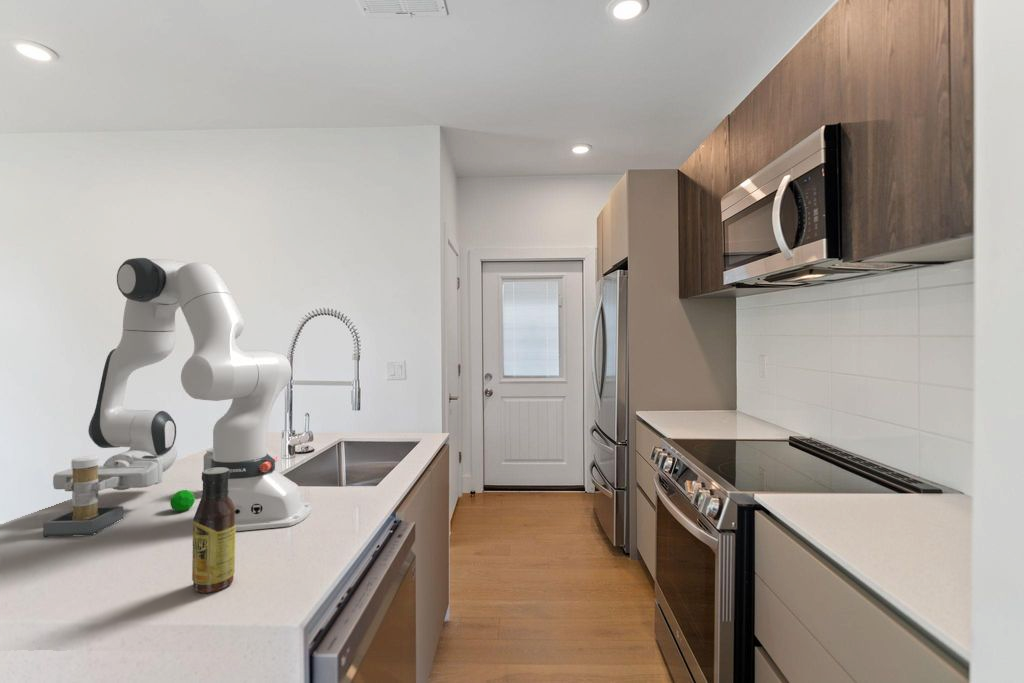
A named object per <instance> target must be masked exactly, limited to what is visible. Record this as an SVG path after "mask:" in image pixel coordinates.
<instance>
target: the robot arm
mask: <svg viewBox="0 0 1024 683" xmlns="http://www.w3.org/2000/svg"><path fill="white" fill-rule="evenodd" d="M222 278H223V277H221V275H220V274H219V273H218V272H217V271H216V269H215V268H214V267H212V266H211V265H210V264H207V263H204V262H197V261H196V262H189V263H188V262H185V261H184V262H183V261H177V260H174V259H161V258H160V259H158V258H155V259H154V258H146V257H136V258H135V257H134V258H128V259H126V260H124V261H123V263H121V265H120V266H119V268H118V270H117V273H116V285H117V288H118V290H119V292H120V293H121V294H122V296H123V297H124V298H125V299H126V301H125V307H124V312H123V318H122V319H123V320H122V334H121V338H120V340H119V344H118V345H117V346H116V348H113V349H112V350H111V351H109V353H108V354H107V357H106V359H105V364H104V365H103V366H104V367H103V371H102V376H101V380H100V384H99V385H100V386H99V389H98V390H99V391H98V396H97V401H96V405H95V409H94V413H93V415H92V417H91V419H90V421H89V422H90V423H89V425H88V430H87V431H88V432H87V433H88V435H89V438H90V439H91V441H92V442H93V443H94V444H95V445H96V446H97V447H98V448H100V449H112V448H116V449H117V448H129V449H128V450H126V451H123V452H120V453H117V454H114V455H112V456H110V457H109V458H107V460H105V462H104V463H103V465H98V481H97V482H95V483H93V491H98V492H101V491H103V490H106V489H113V490H116V491H125V490H129V489H132V488H133V489H136V488H137V489H138V488H140V489H143V488H147V487H151V486H154V485H159V484H161V483H162V482H163V476H164V475H163V473H164V472H166V471H167V470H169V469H170V468H171V467H172V465H173V464H174V463H175V462H176V459H177V457H178V456H177V455H178V452H177V447H176V446H175V441H176V437H177V425H176V422H175V420H174V419H173V417H172V416H171V415H170V414H169V413H168V412H167V411H164V410H155V409H154V410H153V409H152V410H150V409H149V410H148V409H143V410H142V409H125V407H124V406H123V403H124V399H125V393H126V389H127V384H128V380H129V377H130V375H131V374H132V373H133V372H135V371H136V370H139V369H140V368H144V367H147V366H151V365H154V364H156V363H160V362H161V361H163V360H165V359H166V358H167V357H168V356H169V355H170V354H172V352H173V350H174V348H175V344H176V312H177V310H178V309H179V308H180V309H181V311H182V314H183V316H184V318H185V321H186V322H187V325H188V327H189V330H190V333H191V336H192V338H193V344H194V345H193V351H192V355H190V358H188V359H187V360H186V361H185V363H184V365H183V366H182V369H181V373H180V382H181V385H182V387H183V390H184V391H185V393H186V394H187V395H188V397H189V396H190V398H192V399H195V400H200V401H201V400H202V401H214V402H218V401H225V400H232V401H231V404H230V406H229V408H228V410H227V411H226V413H224V415H223V416H221V417H220V418H219V419H217V421H216V422H215V424H214V426H213V430H212V439H213V440H212V448H213V459H212V460H211V468H216V467H225V468H228V469H229V471H230V476H229V479H228V491H229V493H228V496H229V498H230V499H231V500H232V502H233V504H234V506H235V522H236V529H235V532H240V531H250V530H253V531H254V530H262V529H263V530H264V529H273V528H274V529H276V528H285V527H292V526H294V525H297V524H298V523H301V522H302V521H303V520H305V519H306V518H307V517H308V516H309V515H310V514H311V512H312V505H311V503H310V502H304V501H303V500H302V493H301V490H300V487H299V485H298V484H297V483H296V482H294V481H292V480H291V479H290V478H288V477H286V476H284V475H283V474H282V473H280V472H279V471H277V470H276V463H277V462H278V460H277V459H278V456H274V458H273V457H272V456H271V455H269V454H268V453H267V452H268V451H267V450H268V449H267V448H268V429H269V428H268V427H269V426H268V425H269V419H270V416H271V412H272V410H273V407H274V404H275V403H276V400H277V398H278V396H279V395H280V393H281V392H282V391H283V390H284V389H285V388H286V387H287V386H288V385H289V383H290V381H291V379H292V373H293V372H292V366H291V363H290V361H289V359H288V358H287V357H286V356H285V355H283V354H281V353H277V352H275V351H270V350H266V349H265V350H264V349H263V350H259V349H258V350H241V349H240V348H239V346H238V345H237V341H236V340H237V339H238V338H239V337H240V336H241V335H242V333H243V331H244V328H245V320H244V318H243V316H242V314H241V311H240V310H239V307H238V306H237V303H236V301H235V299H234V297H233V295H232V293H231V291H230V289H229V288H228V286H227V284H226V283H225V282H224V280H223V279H222ZM72 469H73V468H69V469H65V470H62V471H57V472H55V473H54V474H53V477H52V486H53V488H54V490H64V491H65V492H73V470H72Z"/></svg>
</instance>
